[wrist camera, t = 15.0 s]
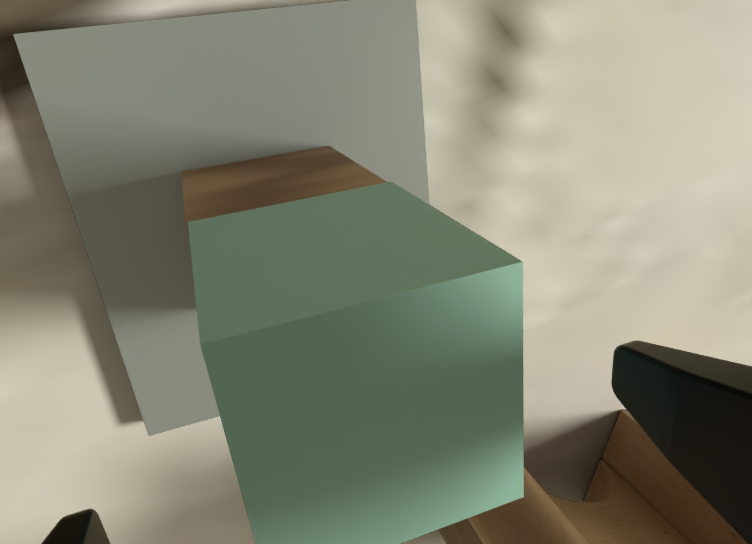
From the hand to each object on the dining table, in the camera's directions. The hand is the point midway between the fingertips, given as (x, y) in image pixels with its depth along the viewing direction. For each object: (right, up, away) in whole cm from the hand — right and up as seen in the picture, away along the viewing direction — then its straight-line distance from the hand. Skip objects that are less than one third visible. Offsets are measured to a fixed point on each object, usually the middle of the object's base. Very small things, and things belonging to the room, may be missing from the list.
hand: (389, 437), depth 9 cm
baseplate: (-4, +5, +11) cm, 13 cm away
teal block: (-2, +2, +5) cm, 6 cm away
